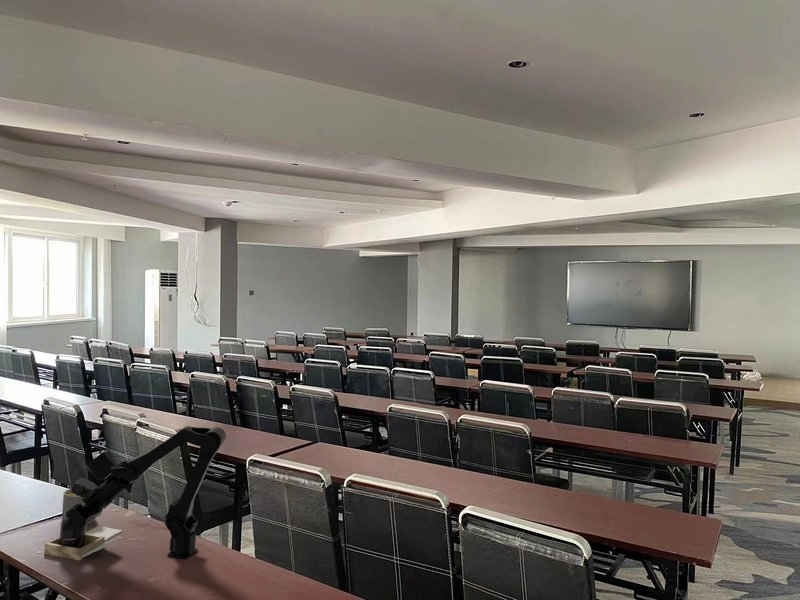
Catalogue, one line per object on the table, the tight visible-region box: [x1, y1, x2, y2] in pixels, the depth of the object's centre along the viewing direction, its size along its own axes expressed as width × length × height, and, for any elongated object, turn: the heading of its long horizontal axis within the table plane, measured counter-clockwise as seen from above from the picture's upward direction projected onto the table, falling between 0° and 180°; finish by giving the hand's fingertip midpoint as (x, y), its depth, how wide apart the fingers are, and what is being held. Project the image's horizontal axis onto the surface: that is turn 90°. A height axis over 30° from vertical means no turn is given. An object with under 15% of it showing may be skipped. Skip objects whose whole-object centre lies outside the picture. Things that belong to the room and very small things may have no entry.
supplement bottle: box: [59, 508, 88, 549], centre depth 172 cm, size 7×7×12 cm
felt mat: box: [86, 525, 123, 542], centre depth 184 cm, size 9×9×1 cm
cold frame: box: [43, 533, 106, 561], centre depth 172 cm, size 12×10×3 cm
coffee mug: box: [61, 488, 103, 526], centre depth 192 cm, size 13×10×10 cm
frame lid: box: [81, 535, 123, 559], centre depth 170 cm, size 7×8×4 cm
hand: (68, 525), depth 172 cm, fingers closed on supplement bottle, 7 cm apart
